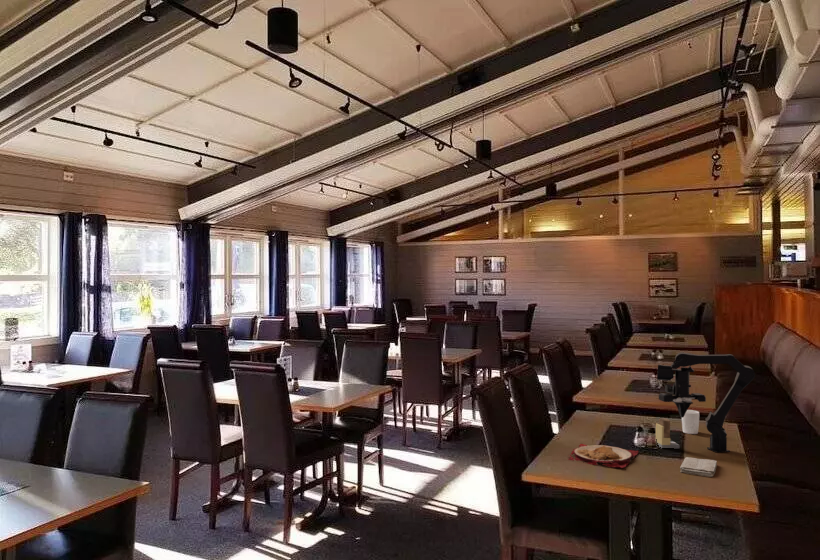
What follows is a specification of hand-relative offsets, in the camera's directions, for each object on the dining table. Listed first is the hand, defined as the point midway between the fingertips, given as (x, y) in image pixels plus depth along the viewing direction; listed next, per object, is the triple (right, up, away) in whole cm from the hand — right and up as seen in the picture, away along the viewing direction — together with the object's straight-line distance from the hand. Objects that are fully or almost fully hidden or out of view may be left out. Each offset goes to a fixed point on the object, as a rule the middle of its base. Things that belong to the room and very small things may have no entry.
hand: (681, 417), depth 272 cm
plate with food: (-40, -14, -15) cm, 45 cm away
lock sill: (-6, -13, 0) cm, 14 cm away
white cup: (+15, -13, +26) cm, 33 cm away
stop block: (-8, -11, 0) cm, 13 cm away
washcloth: (-7, -14, -31) cm, 35 cm away
